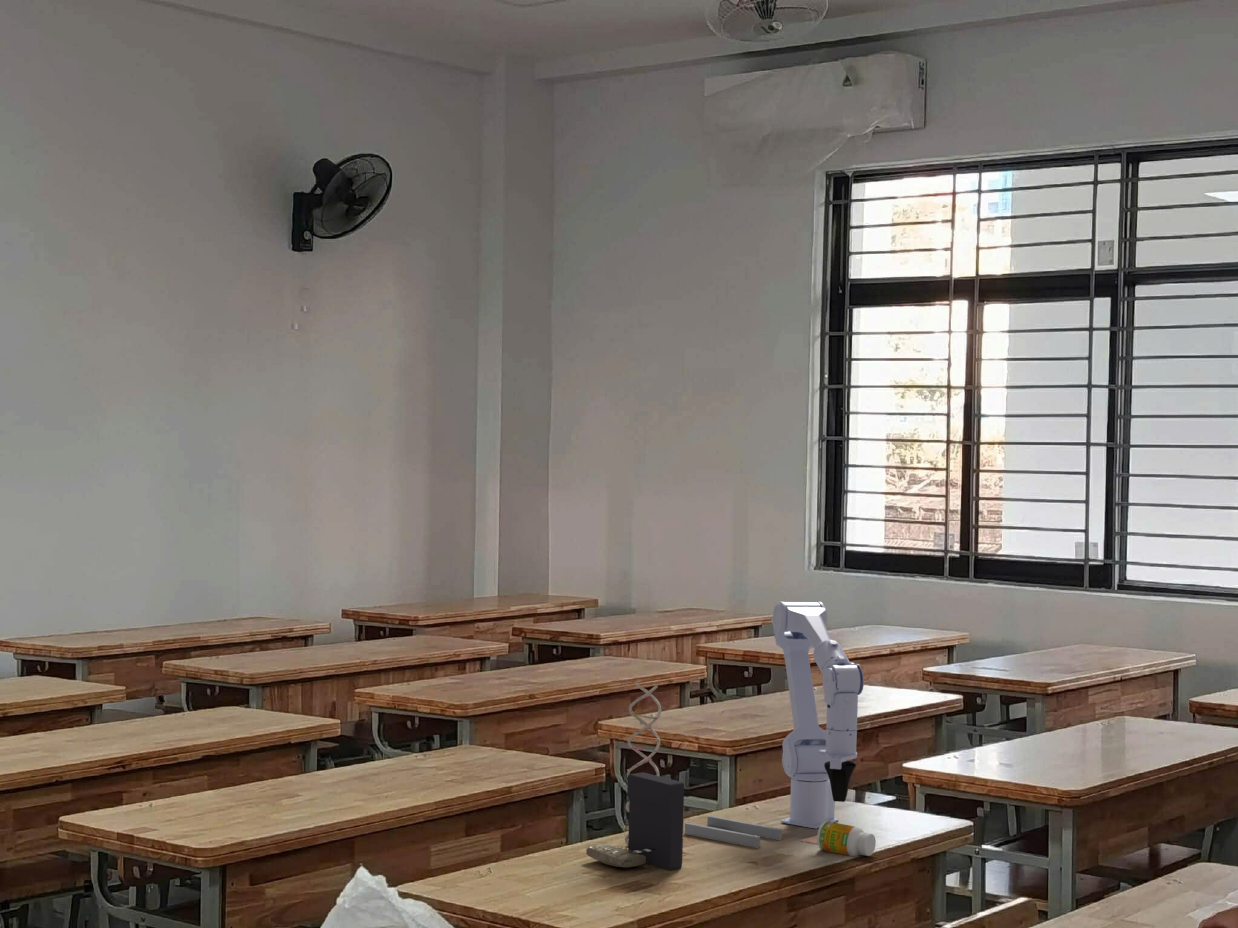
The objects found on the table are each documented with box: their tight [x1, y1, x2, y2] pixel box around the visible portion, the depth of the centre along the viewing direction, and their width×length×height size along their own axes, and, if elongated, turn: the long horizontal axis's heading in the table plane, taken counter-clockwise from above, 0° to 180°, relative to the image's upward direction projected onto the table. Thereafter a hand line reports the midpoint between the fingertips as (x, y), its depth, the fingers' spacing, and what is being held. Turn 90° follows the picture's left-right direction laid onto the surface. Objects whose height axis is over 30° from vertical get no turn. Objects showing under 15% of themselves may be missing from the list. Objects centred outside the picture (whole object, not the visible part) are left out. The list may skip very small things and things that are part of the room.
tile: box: [801, 834, 818, 845], centre depth 292 cm, size 10×10×1 cm
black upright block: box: [626, 771, 685, 872], centre depth 273 cm, size 11×4×15 cm, turn 42°
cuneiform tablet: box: [586, 844, 656, 868], centre depth 270 cm, size 6×4×12 cm
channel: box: [684, 815, 783, 848], centre depth 294 cm, size 9×16×2 cm, turn 54°
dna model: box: [624, 681, 662, 846], centre depth 283 cm, size 7×6×30 cm
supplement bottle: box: [816, 821, 877, 857], centre depth 283 cm, size 5×5×10 cm
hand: (839, 800), depth 292 cm, fingers closed
